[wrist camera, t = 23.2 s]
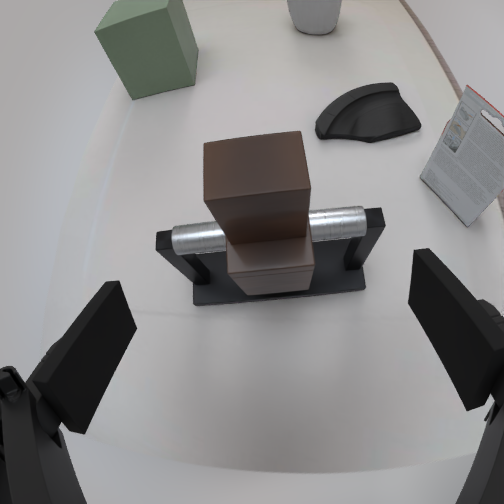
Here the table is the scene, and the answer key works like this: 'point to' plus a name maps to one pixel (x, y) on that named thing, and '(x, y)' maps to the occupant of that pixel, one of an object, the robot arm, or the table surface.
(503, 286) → the table surface
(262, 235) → the brown arch stand
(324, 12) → the mug
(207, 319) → the table surface
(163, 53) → the plinth
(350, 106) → the curved wedge
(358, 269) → the rail stand
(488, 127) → the ink box
